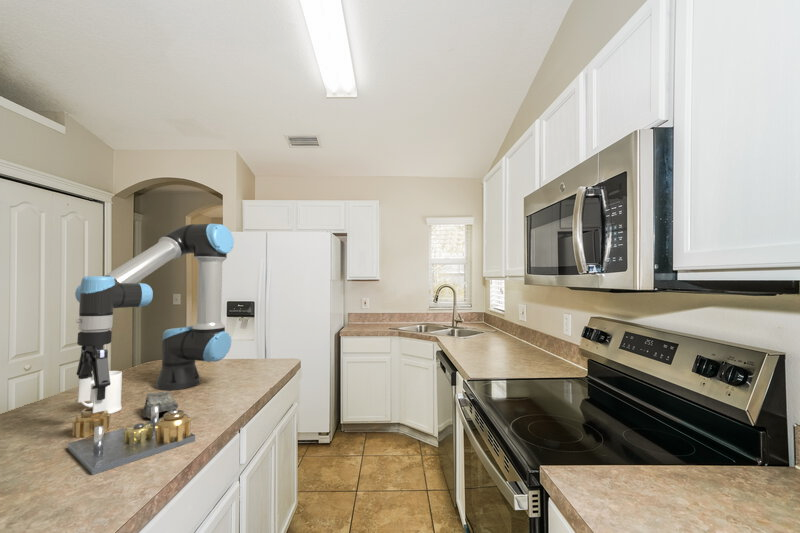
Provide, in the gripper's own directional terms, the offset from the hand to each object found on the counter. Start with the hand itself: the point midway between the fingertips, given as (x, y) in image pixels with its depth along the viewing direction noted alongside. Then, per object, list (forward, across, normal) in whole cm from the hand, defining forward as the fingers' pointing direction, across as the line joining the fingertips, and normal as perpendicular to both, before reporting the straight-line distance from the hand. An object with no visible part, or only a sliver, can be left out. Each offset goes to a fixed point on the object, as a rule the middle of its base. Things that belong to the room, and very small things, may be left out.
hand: (91, 406), depth 106 cm
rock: (+7, 0, +17) cm, 19 cm away
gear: (+7, 0, 0) cm, 7 cm away
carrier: (+7, +19, +4) cm, 21 cm away
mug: (+7, -16, +6) cm, 19 cm away
